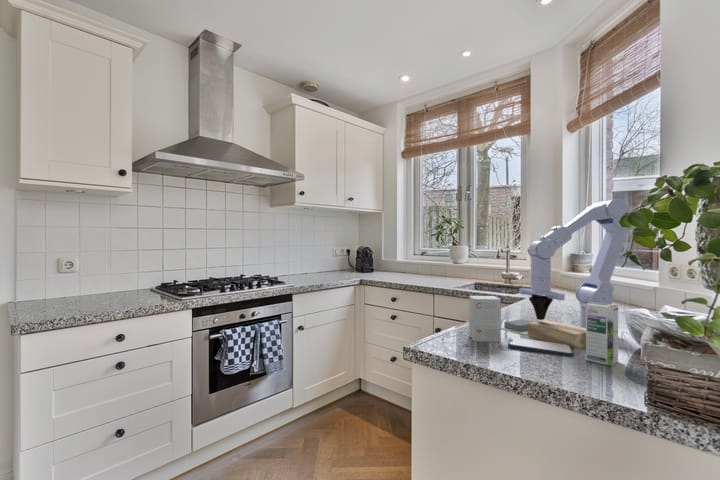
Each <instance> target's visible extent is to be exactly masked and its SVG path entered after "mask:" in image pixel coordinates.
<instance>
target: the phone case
mask: <svg viewBox="0 0 720 480" xmlns="http://www.w3.org/2000/svg"><path fill="white" fill-rule="evenodd" d="M507 348H508V349H510V350H515V351H522V352H523V351H524V352H531V353H540V354H545V355H546V354H547V355H552V356H553V355H554V356H561V357H568V358H569V357H570V358H573V357H574V356H575V354H574V351H573V348H571V346H569V345H565V344H558V343H553V342H550V341H543V340H535V339H529V338H521V337H511V336H510V337H509V338H508V342H507Z"/></svg>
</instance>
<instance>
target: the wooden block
mask: <svg viewBox="0 0 720 480" xmlns="http://www.w3.org/2000/svg"><path fill="white" fill-rule="evenodd" d="M527 336H529V337H531V338H532V337H533V338H536V339H540V340H542V341H543V340H544V341H545V342H551V343H558V344H565V345H569V346H571V348H572V349H574V350H575V349H579V348H583V347H584V348H585V347H586V328H583V327H580V326H577V325H573V324H570V323H569V324H567V323H563V322H559V321H555V320H551V319H543V320H537V321H532V322H530V323H528V334H527Z"/></svg>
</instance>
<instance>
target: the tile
mask: <svg viewBox="0 0 720 480" xmlns="http://www.w3.org/2000/svg"><path fill="white" fill-rule="evenodd" d="M530 322H533V321H532V320H531V321H530V320H527V319H522V318H521V319H515V320H513V319H512V320H507V321H504V323H503V324H504V326H503V327H504V328H508V329H511V330H515V331H519V332H521V331H527V330H528V323H530Z"/></svg>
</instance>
